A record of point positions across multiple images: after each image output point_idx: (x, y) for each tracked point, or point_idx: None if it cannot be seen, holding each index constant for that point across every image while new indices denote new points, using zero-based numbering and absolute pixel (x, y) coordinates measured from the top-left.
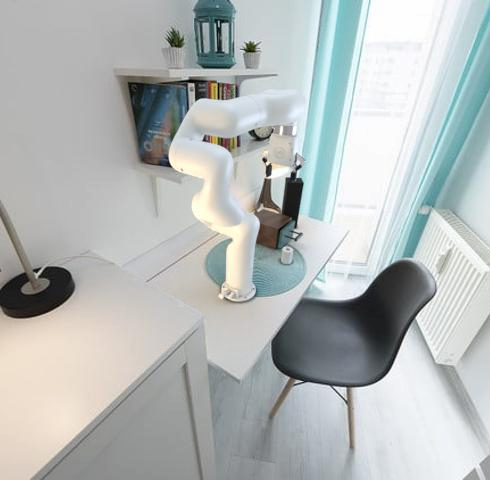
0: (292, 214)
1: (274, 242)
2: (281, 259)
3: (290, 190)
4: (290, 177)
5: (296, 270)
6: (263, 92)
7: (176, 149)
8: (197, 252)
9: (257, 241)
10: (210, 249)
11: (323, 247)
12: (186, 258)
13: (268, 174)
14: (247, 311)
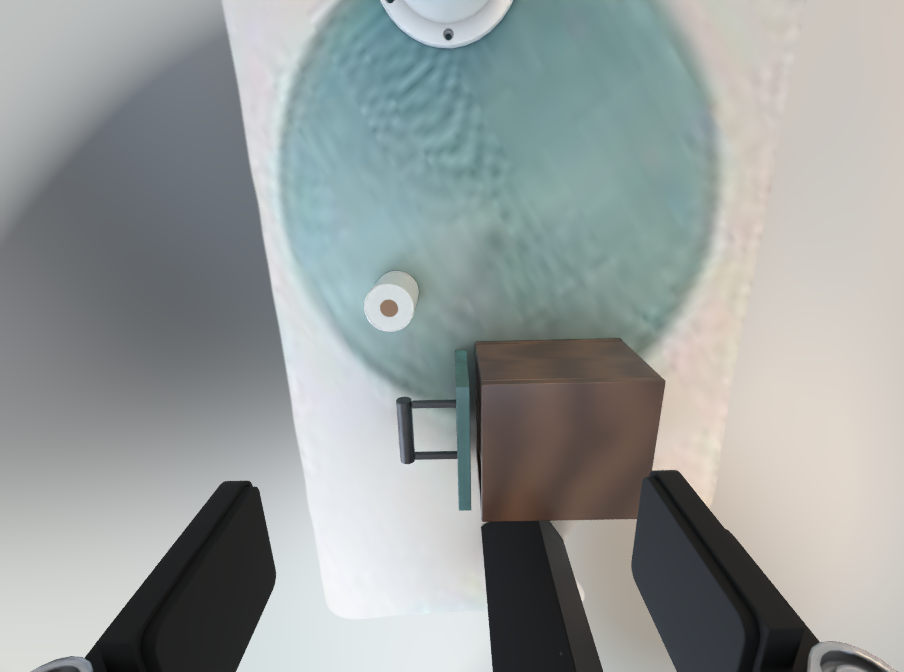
0: (509, 567)
1: (484, 353)
2: (409, 278)
3: None
4: (208, 541)
5: (332, 260)
6: None
7: None
8: (767, 95)
9: (564, 342)
10: (723, 160)
11: (332, 464)
12: (791, 11)
13: (659, 519)
14: None
